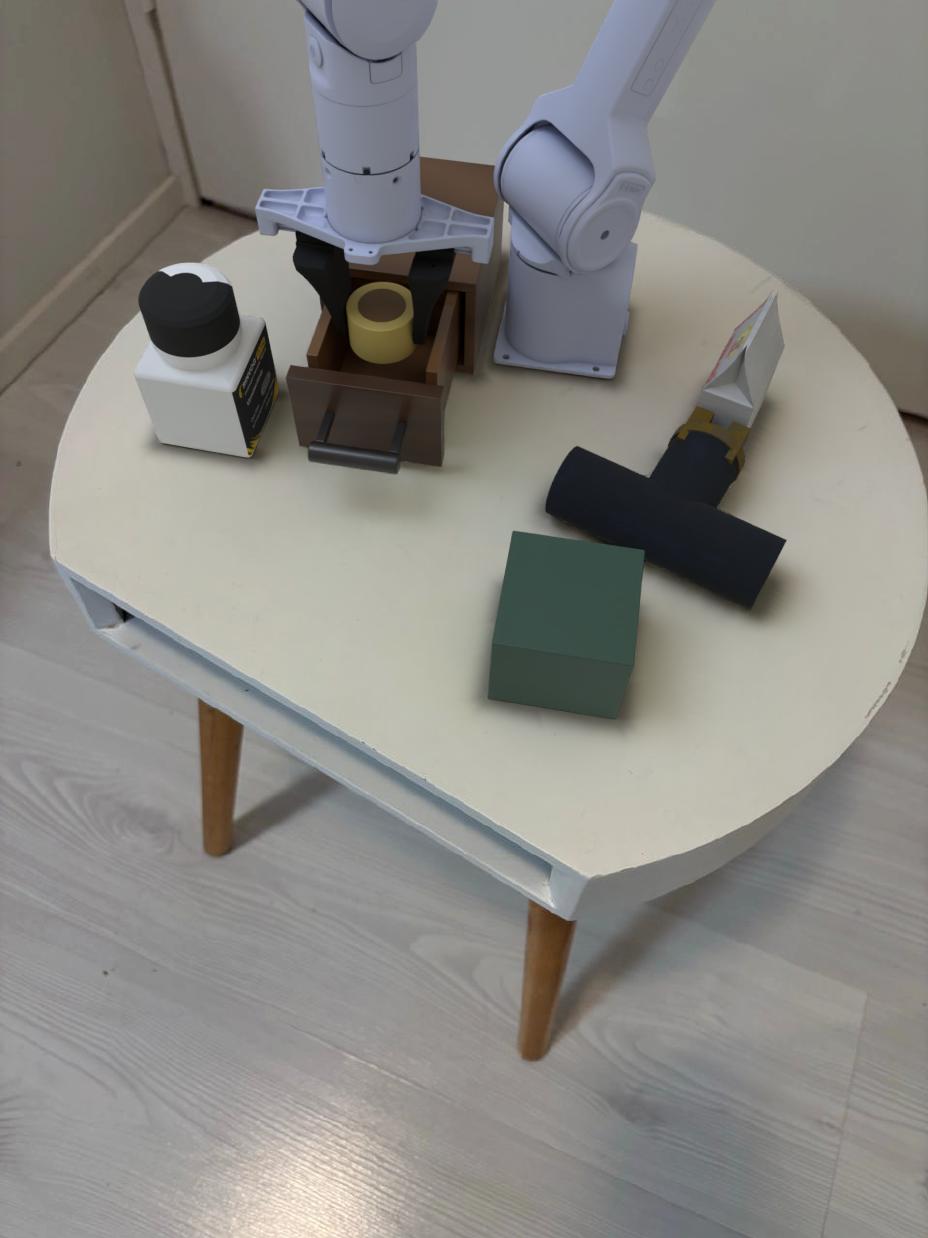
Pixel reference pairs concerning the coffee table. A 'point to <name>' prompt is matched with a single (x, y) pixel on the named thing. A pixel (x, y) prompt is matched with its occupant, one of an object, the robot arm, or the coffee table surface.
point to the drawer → (376, 395)
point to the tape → (381, 322)
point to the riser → (566, 624)
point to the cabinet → (476, 195)
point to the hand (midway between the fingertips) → (383, 329)
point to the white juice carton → (745, 368)
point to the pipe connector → (673, 509)
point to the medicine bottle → (204, 362)
